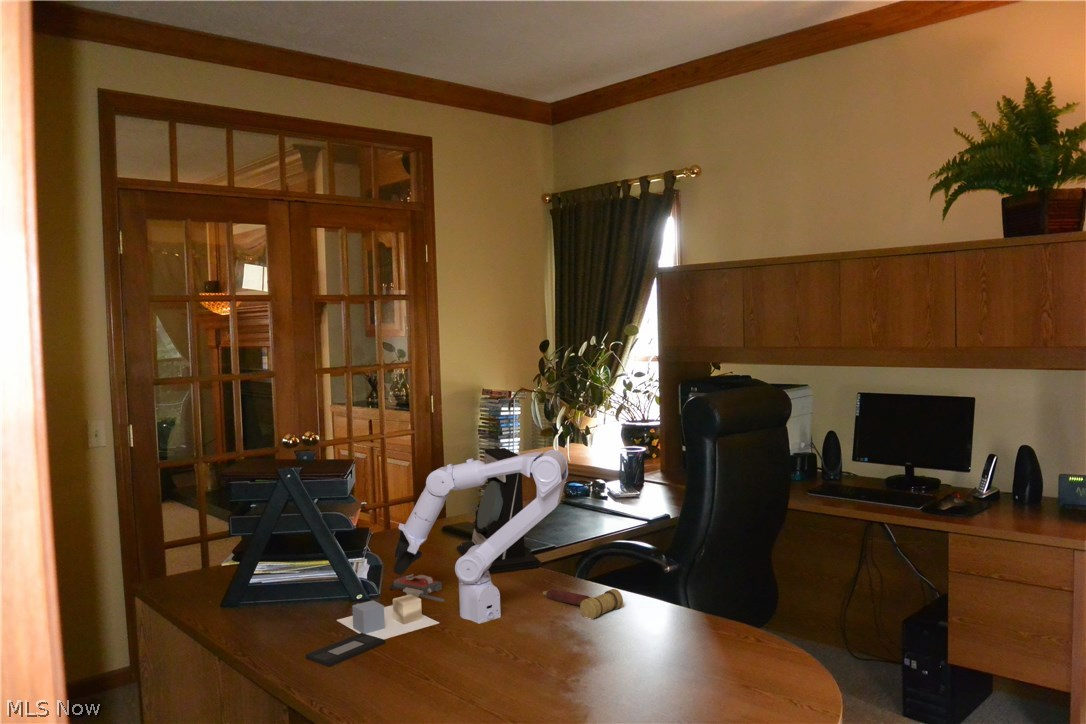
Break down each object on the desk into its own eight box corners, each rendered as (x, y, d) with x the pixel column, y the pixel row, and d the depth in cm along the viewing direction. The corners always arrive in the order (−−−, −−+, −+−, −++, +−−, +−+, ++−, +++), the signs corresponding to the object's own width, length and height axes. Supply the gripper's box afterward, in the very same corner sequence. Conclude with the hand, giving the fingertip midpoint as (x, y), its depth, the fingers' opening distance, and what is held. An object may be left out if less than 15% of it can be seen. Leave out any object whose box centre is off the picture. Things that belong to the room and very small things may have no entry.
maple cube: (421, 619, 186) (421, 599, 186) (403, 624, 183) (402, 603, 183) (411, 614, 189) (410, 594, 189) (393, 619, 186) (392, 598, 186)
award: (454, 548, 250) (451, 448, 248) (514, 541, 255) (511, 444, 254) (477, 576, 220) (473, 463, 219) (544, 567, 226) (541, 458, 225)
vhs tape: (305, 664, 166) (305, 654, 165) (361, 642, 177) (361, 632, 177) (329, 673, 161) (329, 663, 161) (385, 649, 172) (385, 639, 172)
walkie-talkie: (382, 594, 209) (441, 608, 197) (382, 577, 208) (440, 589, 197) (408, 584, 216) (466, 597, 204) (407, 568, 215) (465, 579, 204)
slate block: (384, 628, 181) (383, 605, 181) (363, 634, 178) (362, 611, 177) (374, 622, 185) (373, 600, 185) (353, 628, 182) (352, 605, 181)
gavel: (528, 588, 199) (556, 578, 206) (529, 607, 199) (558, 597, 206) (594, 601, 184) (622, 590, 191) (595, 621, 184) (624, 609, 191)
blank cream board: (439, 627, 183) (439, 622, 183) (374, 646, 173) (373, 642, 173) (399, 607, 197) (399, 603, 197) (336, 624, 187) (336, 620, 187)
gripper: (408, 496, 195) (383, 544, 197) (407, 521, 181) (380, 573, 183) (436, 507, 197) (410, 556, 199) (436, 533, 183) (409, 585, 185)
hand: (397, 565), depth 191 cm, fingers open, 7 cm apart
